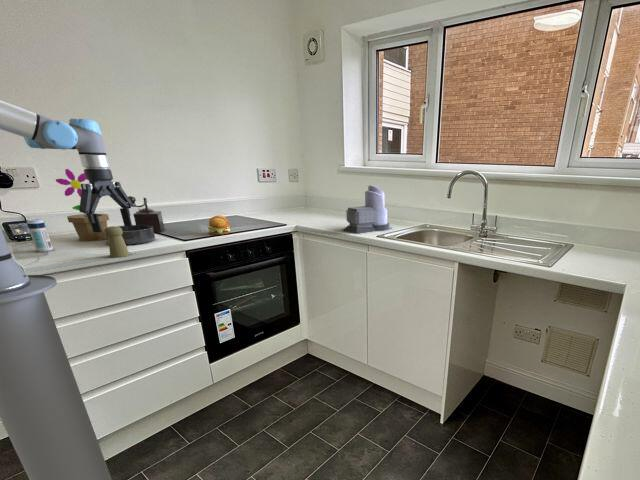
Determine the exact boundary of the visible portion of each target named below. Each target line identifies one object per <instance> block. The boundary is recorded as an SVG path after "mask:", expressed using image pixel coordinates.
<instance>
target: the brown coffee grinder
mask: <svg viewBox="0 0 640 480" xmlns="http://www.w3.org/2000/svg"><path fill="white" fill-rule="evenodd" d="M127 196H128V195H127ZM128 198H129V199H130V201H131V202H132V204H133V205H132V206H131V208H138V210H137V211H135V213H133V219H134V223H135V225H149V226H153V230H154V234H155V233H162V232H164V230H165V229H166V228H165V223H164V219H163V215H162V211H161V210H154V209H152V208H149V207H148V200H147V198H146V197H143V203H142V204H140V205H137V204H136V201H137V199H136V197H134V196H131V195H129V196H128ZM142 207H145V208H142Z"/></svg>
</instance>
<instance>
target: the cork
mask: <svg viewBox="0 0 640 480" xmlns="http://www.w3.org/2000/svg"><path fill="white" fill-rule="evenodd" d="M122 233H123V231H122V229H121V228H120V227H116V226H107V228H105V234H106V235H107V236H108V241H109V243H108V247H109V257H110V258H124V257H130V252H129V249H128V246H127V245H126V244H125V242H124V240H123V237H122Z"/></svg>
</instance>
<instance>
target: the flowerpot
mask: <svg viewBox="0 0 640 480" xmlns="http://www.w3.org/2000/svg"><path fill="white" fill-rule="evenodd" d="M64 171H65V173H64V174H65V176H66V177H67V179H66V178H56V179H55V182H56V183H58V184H60V185H63V186H69V187H67V188H66V189H65V190H64V194H63V195H64V196H65V197H68V196H72V195H73V194H74V192H75V190H76V193H77V194H78V196H79V197H80V198H81V193H82V189H81V184H82V183H83V182H85V181H86V180H87V179H86V177H85V173H84V172H82V173H80V174H79V175H78V176H77V179H76V176H75V174H74V173H73V172H72V171H71V170H70V169H69V168H65V169H64ZM68 179H69V180H68ZM71 208H72V210H77V211H79V208H80V204H78V205H74V206H73V207H72V206H71ZM84 209H85V208H84ZM96 214H97V215H98V219H99V222H100V225H101V229H102V232H93V229H92V226H91V223H89V220H88V217H87V214H84V213H81V214H80V213H79V214H71V215H67V217H66V218H67V221H68V223H71V224H72V225H73V228H74V230H75V232H76V234H77V236H78V238H79V240H80V241H81V242H95V241H102V240H107V238H106V235H105V231H104V230H105V228H107V227H108V222H107V221H110V217H109V215H108V213H96Z"/></svg>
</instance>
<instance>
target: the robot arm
mask: <svg viewBox="0 0 640 480" xmlns="http://www.w3.org/2000/svg"><path fill="white" fill-rule="evenodd" d="M68 122H69V123H66V122H63V121H61V120H56V119H51V118H48V117H46V116H43V115H41V114H38V113H35V112H33V111H30V110H28V109H25V108H22V107H20V106H17V105H15V104H11V103H10V102H7V101H3V100H1V99H0V130H1V131H4V132H7V133H11V134H13V135H17V136H19V137H22V138H23V139H24V141H25V143H26V145H27V146H28V147H29V148H31V149H40V150H45V149H46V150H63V151H64V150H77V152H78V156H79V159H80V162H81V166H82V167H83V168H84V169H83V173H85V177H86V180H87V181H88V183H81V188H80V189H82V193H81V197H80V200H79V205H80V208H79V210H78V211H79V213H81V214H87V217H88V220H89V223H91V226H92V229H93V232H102V229H101V225H100V222H99V219H98V215H97V214H98V213H95V212H96V210H97V207H98V205H99V202H100V200H101V198H102V197H106V196H109V198H111V199H112V200H113V201H114V202H115V203H116V204H117V205H118V206H119V207H120V208H119V211H120V215H121V219H122V222H123V226H132V225H133V223H132V219H131V211H130V209H132V207H131V206H132V205H133V204H132V202H131V201H130V199H129V198H128V195H127V192H125V190H124V189H123V187H122V184H121V183H120V181H112V180H114V176H113V172H112V170H111V169H110V167H111V165H110V161H109V157H108V155H107V151H106V148H105V143H104V139H103V134H102V132H101V128H100V126H99V123H98V122H97V121H96V120H93V119H88V118H87V119H85V118H69V120H68ZM84 208H85V209H84ZM27 275H28V274H27V273H26V272H25V271H24V270H23V269H22V267H20V265H19V264H18V263H17V262H16V261H15V260H14V258H13V256H12V253H11V251H10V247H9V245H8V242H7V240H6V238H5V234H4V231H3V229H2V227H1V226H0V294H3V293H8V292H12V291H16V290H19V289H22V288H25V287H27V286H29V285H30V284H31V282H30V279H29V277H28V276H27Z"/></svg>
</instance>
